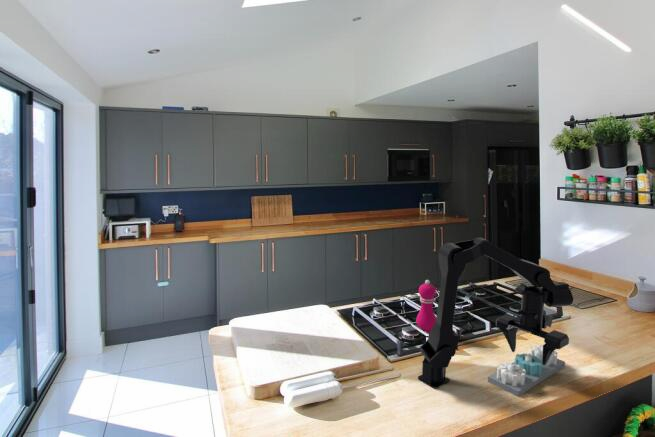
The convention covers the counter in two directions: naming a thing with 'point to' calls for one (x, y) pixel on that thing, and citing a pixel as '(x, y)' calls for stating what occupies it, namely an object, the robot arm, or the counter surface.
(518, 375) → the gear board
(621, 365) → the counter surface
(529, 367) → the teal gear
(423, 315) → the pepper mill
